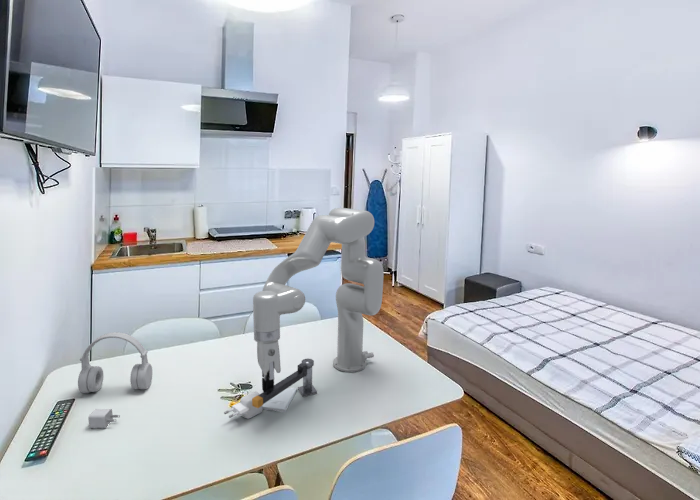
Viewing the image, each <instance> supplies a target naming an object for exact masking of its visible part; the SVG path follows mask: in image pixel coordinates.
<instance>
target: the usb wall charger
mask: <svg viewBox="0 0 700 500" xmlns="http://www.w3.org/2000/svg"><path fill="white" fill-rule="evenodd" d="M116 418H121V415H120V414H113V408H95V409H93V411H92V412H91V413H90V414H89V415H88V426H89V429H107V428H108V427H109V426H108V424H109V423H110V422H111V423H116V422H117V419H116ZM111 423H110V424H111ZM110 424H109V425H110ZM107 426H108V427H107ZM106 427H107V428H106Z"/></svg>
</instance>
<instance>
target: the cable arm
mask: <svg viewBox="0 0 700 500" xmlns="http://www.w3.org/2000/svg"><path fill="white" fill-rule="evenodd" d="M314 366H315V360H313V359H312V358H304V359H302V360H301V362H300V363H299V364H298V365H297V370H296V371H294V372H292V373H291V374H290V375H288V376H286V377H285V378H283V379H281V380H280V381H279V382H277V383H276V384H275V383H274V386H272V387H271V388H269V389H267V390H266V391H264V392H263V391H262V392H261V393H259V394H260V395H257V396H255V397H254V398H252V406H254V407H256V408H259V407H261V406H262V405H263V404H264V403H266V402H267V401H269V400H270V399H272V398H273V397H275V396H276V395H278V394H279V393H281V392H282V391H284V390H285V389H287V388H288V387H291V386H293V385H294V384H296V383H297V382H299V381H300V380H303V377H305V376H306V368H310V367H312V368H313V367H314Z"/></svg>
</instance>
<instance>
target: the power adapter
mask: <svg viewBox="0 0 700 500" xmlns="http://www.w3.org/2000/svg"><path fill="white" fill-rule="evenodd" d="M260 394H261V393H259V392H257V391H253V392H250V393H248V394H246V395H243V396H242V397H241V398H240V401H239V402H237V403H235V404H234V405H232V406H231V408H229V409H228V410H226V411H224V412H223V414H224V415H226V414H229V413H230V412H233V413H232V414H230V415H228V418H229V419H230V418H233V417H235V416H238V417H241V416H242V417H243V418H244V419H249V420H250V419H251V418H253V417H255V416H257V415H259V414H261V413H262V412H263V405H262V406H261V407H259V408H256V407H254V406H252V398H254V397H255V396H257V395H260Z"/></svg>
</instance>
